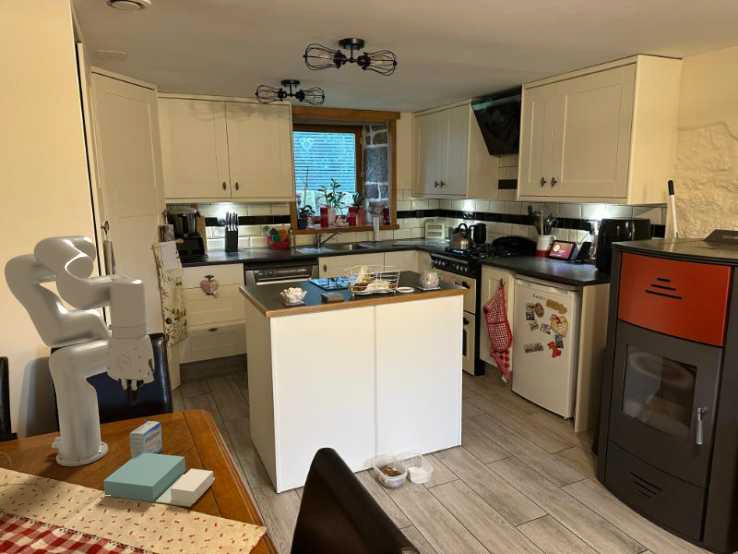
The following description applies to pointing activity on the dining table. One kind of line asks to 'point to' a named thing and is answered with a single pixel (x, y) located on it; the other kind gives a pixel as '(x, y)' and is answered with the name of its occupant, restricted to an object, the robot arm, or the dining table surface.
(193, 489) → the white rectangular block
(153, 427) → the medicine box
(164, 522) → the dining table surface
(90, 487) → the dining table surface
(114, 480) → the block
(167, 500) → the mat
